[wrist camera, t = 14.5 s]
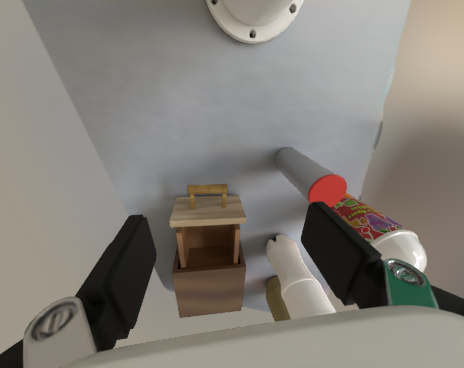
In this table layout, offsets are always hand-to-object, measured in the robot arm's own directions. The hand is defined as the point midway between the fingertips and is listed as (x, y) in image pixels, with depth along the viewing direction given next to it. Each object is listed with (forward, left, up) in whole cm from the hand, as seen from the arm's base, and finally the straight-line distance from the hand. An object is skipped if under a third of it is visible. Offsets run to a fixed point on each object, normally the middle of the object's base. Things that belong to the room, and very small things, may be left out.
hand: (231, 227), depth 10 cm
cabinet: (+27, -1, -21) cm, 34 cm away
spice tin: (+3, +13, -21) cm, 24 cm away
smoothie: (+13, +25, -21) cm, 35 cm away
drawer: (+14, -2, -20) cm, 24 cm away
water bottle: (+24, +15, -21) cm, 35 cm away
